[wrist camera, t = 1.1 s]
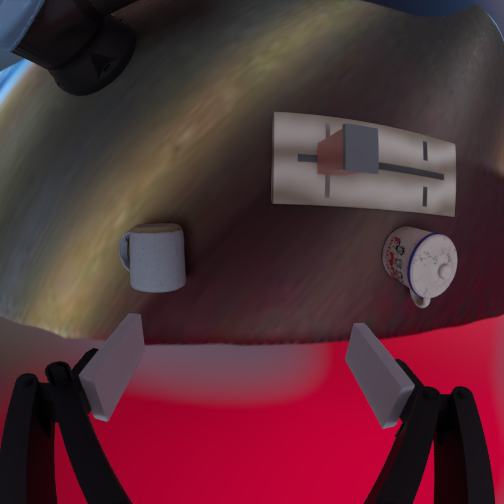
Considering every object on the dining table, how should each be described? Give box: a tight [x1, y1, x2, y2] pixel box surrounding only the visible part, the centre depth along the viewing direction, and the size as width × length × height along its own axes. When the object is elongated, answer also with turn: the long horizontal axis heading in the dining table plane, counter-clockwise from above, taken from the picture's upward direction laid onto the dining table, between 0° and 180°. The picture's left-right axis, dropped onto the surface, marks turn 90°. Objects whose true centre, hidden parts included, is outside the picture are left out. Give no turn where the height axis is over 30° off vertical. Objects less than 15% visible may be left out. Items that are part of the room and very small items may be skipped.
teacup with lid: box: [382, 226, 457, 308], centre depth 34 cm, size 12×9×12 cm
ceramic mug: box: [119, 223, 186, 292], centre depth 35 cm, size 11×8×8 cm
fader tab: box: [317, 123, 379, 176], centre depth 28 cm, size 4×3×11 cm
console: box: [271, 112, 456, 217], centre depth 35 cm, size 12×30×3 cm, turn 89°
